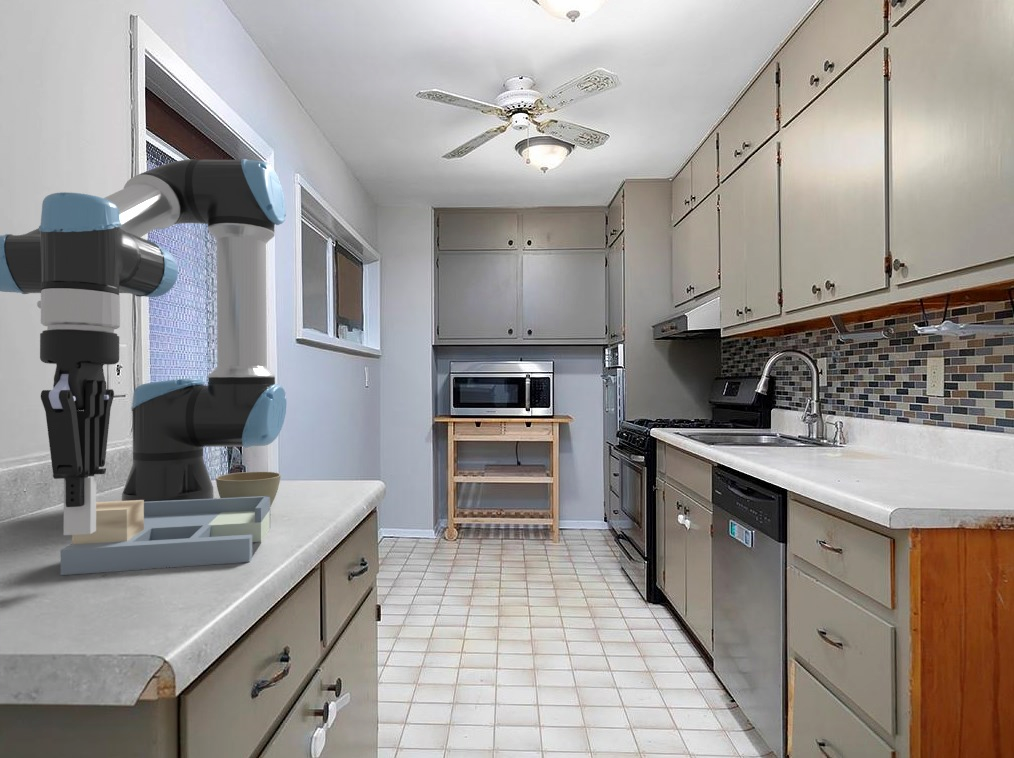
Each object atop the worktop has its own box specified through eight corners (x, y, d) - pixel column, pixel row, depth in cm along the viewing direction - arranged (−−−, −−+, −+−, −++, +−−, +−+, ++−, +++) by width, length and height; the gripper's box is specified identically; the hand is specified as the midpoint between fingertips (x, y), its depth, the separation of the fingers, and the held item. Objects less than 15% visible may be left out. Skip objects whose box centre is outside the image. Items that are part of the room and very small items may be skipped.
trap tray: (120, 536, 88) (119, 502, 88) (270, 527, 93) (270, 495, 93) (60, 575, 71) (60, 533, 71) (249, 561, 76) (249, 522, 76)
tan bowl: (257, 526, 94) (257, 481, 94) (202, 523, 96) (202, 479, 96) (292, 512, 104) (292, 471, 104) (241, 510, 106) (241, 470, 106)
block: (93, 532, 79) (93, 502, 79) (143, 529, 81) (143, 499, 81) (72, 544, 73) (72, 511, 73) (126, 541, 75) (126, 509, 75)
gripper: (70, 334, 75) (69, 522, 74) (11, 324, 62) (10, 550, 62) (137, 335, 76) (136, 519, 76) (93, 325, 64) (92, 545, 64)
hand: (80, 532), depth 69 cm, fingers closed
